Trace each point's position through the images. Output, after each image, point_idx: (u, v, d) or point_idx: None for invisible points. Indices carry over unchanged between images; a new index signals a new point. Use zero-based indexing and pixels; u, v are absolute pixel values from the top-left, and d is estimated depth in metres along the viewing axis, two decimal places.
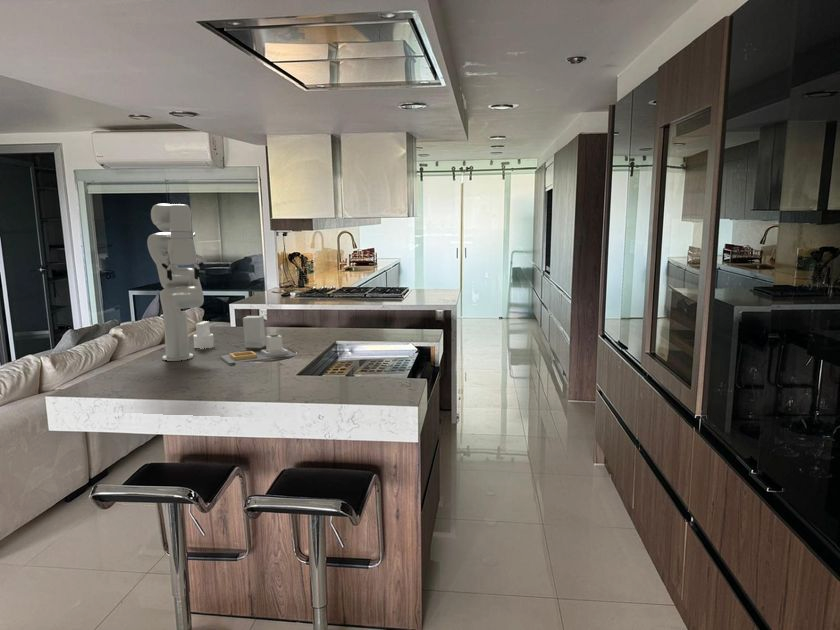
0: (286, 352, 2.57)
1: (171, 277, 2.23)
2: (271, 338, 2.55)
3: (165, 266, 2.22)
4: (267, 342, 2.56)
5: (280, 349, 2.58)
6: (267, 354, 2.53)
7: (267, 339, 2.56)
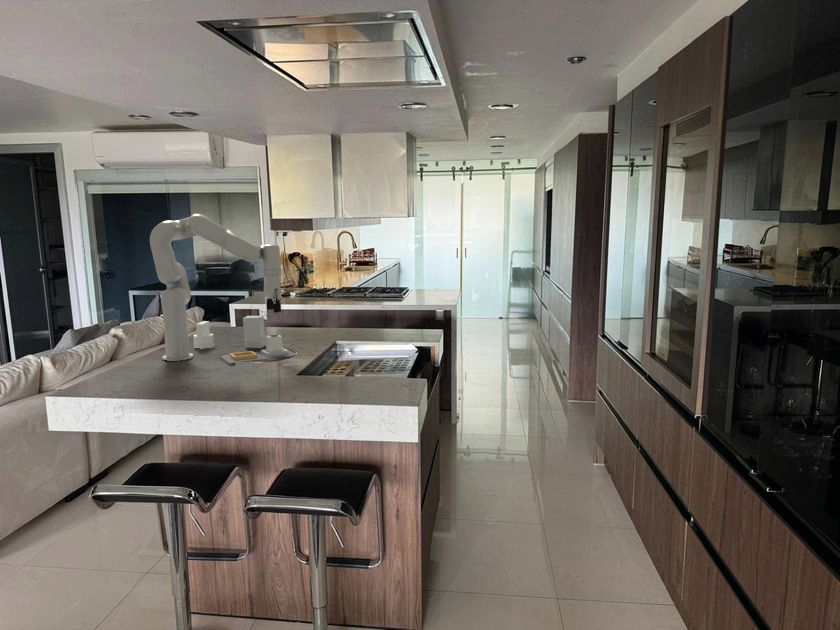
0: (286, 352, 2.57)
1: (280, 309, 2.52)
2: (271, 338, 2.55)
3: None
4: (267, 342, 2.56)
5: (280, 349, 2.58)
6: (267, 354, 2.53)
7: (267, 339, 2.56)
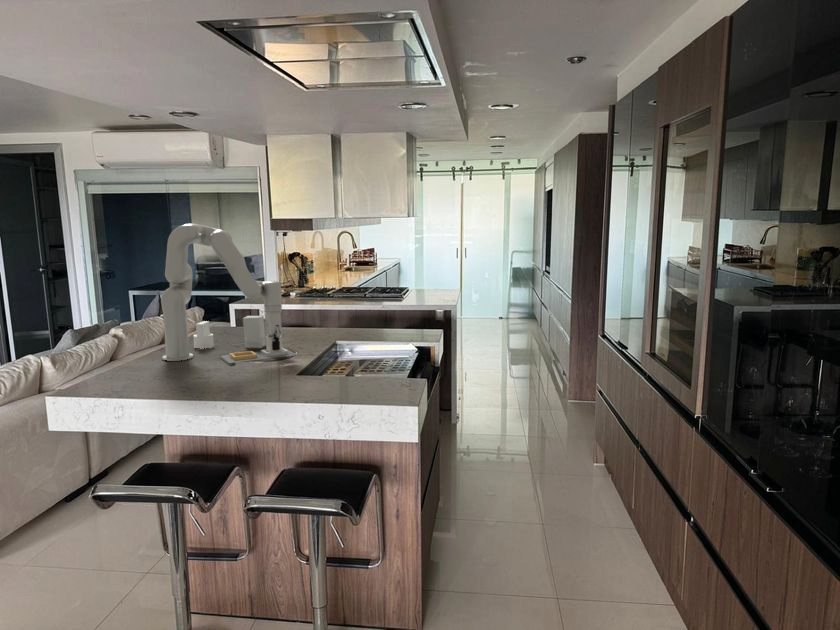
0: (286, 352, 2.57)
1: None
2: (271, 338, 2.55)
3: None
4: (267, 342, 2.56)
5: (280, 349, 2.58)
6: (267, 354, 2.53)
7: (267, 339, 2.56)
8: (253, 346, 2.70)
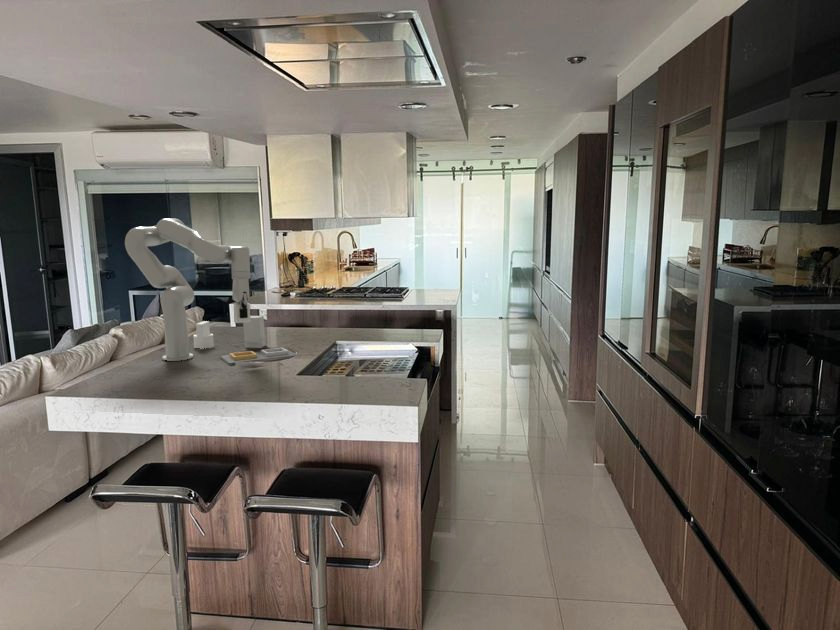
0: (286, 352, 2.57)
1: None
2: (238, 305, 2.45)
3: None
4: (234, 310, 2.47)
5: (248, 317, 2.48)
6: (267, 354, 2.53)
7: (234, 306, 2.46)
8: (253, 346, 2.70)
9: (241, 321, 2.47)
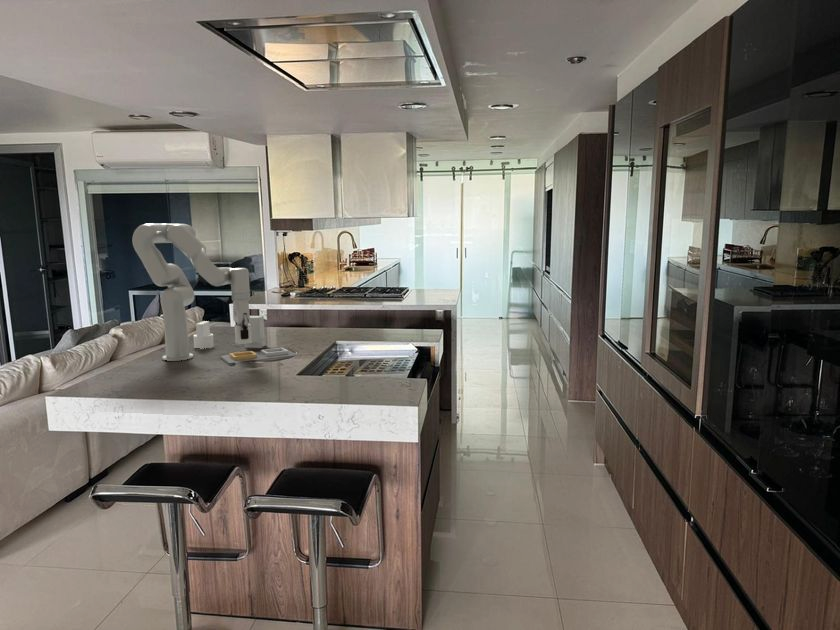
0: (286, 352, 2.57)
1: None
2: (239, 327, 2.46)
3: None
4: (235, 331, 2.48)
5: (249, 338, 2.49)
6: (267, 354, 2.53)
7: (235, 328, 2.47)
8: (253, 346, 2.70)
9: (242, 342, 2.48)
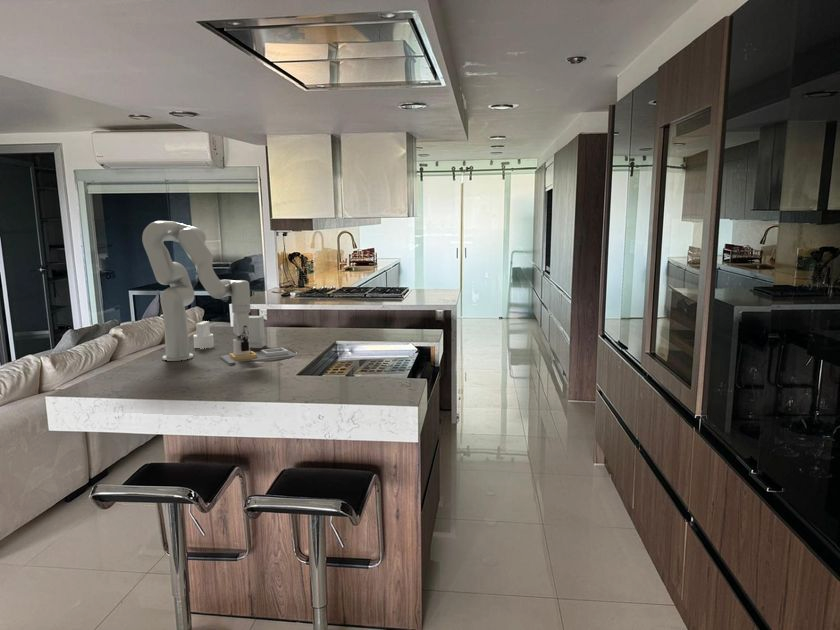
0: (286, 352, 2.57)
1: (248, 347, 2.49)
2: (238, 341, 2.47)
3: None
4: (234, 345, 2.48)
5: (247, 353, 2.50)
6: (267, 354, 2.53)
7: (234, 342, 2.48)
8: (253, 346, 2.70)
9: None
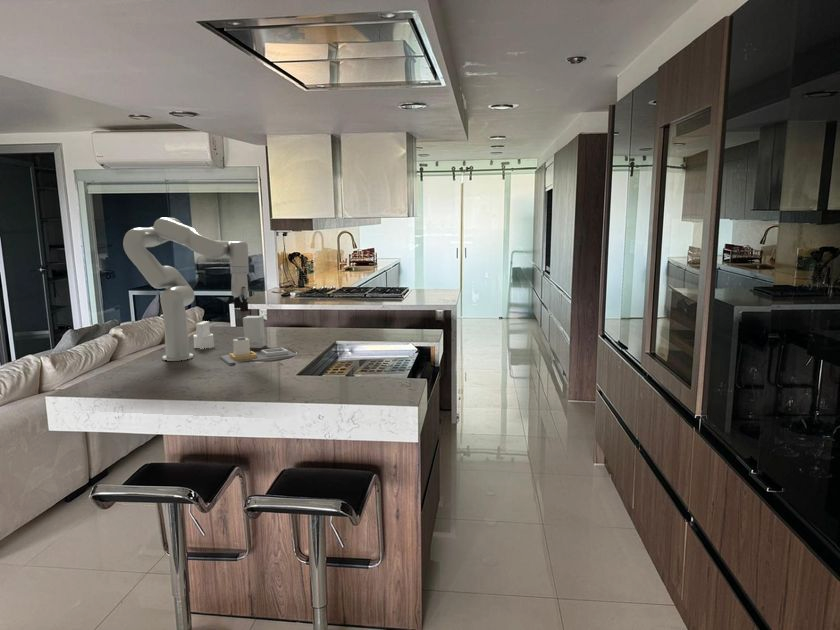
0: (286, 352, 2.57)
1: (247, 308, 2.45)
2: (238, 341, 2.47)
3: None
4: (234, 345, 2.48)
5: (247, 353, 2.50)
6: (267, 354, 2.53)
7: (234, 342, 2.48)
8: (253, 346, 2.70)
9: None
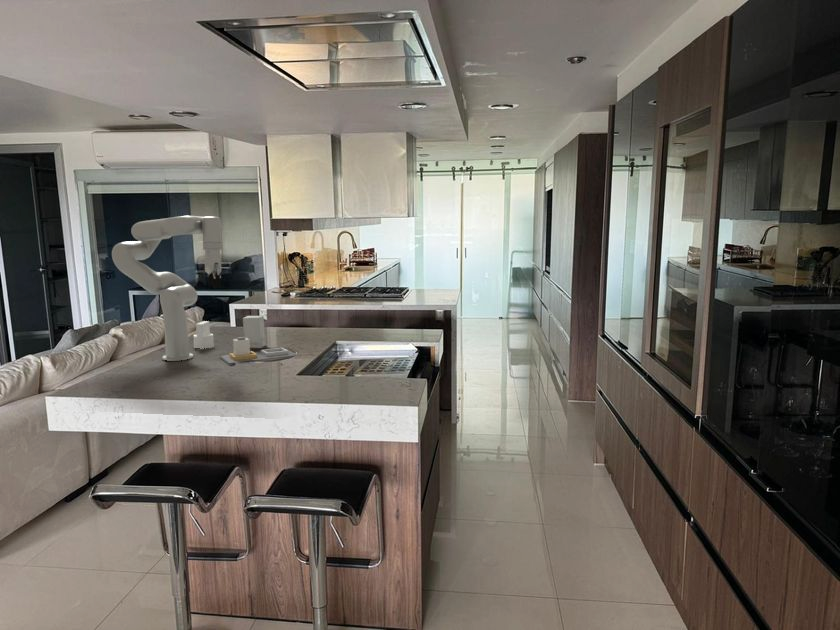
0: (286, 352, 2.57)
1: None
2: (238, 341, 2.47)
3: None
4: (234, 345, 2.48)
5: (247, 353, 2.50)
6: (267, 354, 2.53)
7: (234, 342, 2.48)
8: (253, 346, 2.70)
9: None
